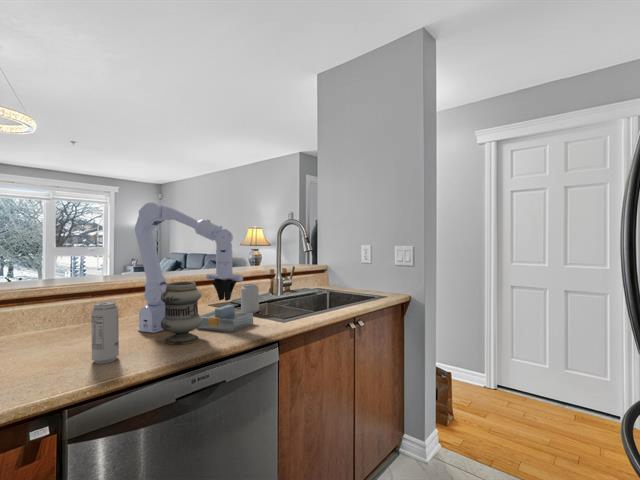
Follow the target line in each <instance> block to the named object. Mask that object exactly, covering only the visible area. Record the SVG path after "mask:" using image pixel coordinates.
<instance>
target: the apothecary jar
mask: <svg viewBox="0 0 640 480" xmlns="http://www.w3.org/2000/svg"><path fill="white" fill-rule="evenodd" d="M201 298H202V292H201V290H200V289H198V288H197V285H196V282H195V281H189V280H186V281H183V280H182V281H175V282H169V283H167V287H166V290H165V291H164V292H163V293H162V295H161V300H162V301H163V302H165V317H164V318H163V319H162V321H161V327H162V328H163V329H164V330H163V331H165V332H166V333H167V332H168V333H171V334H173V335H171V336H168V337H167V338H165V340H164V343H165V344H167V345H171V346H173V345H174V346H175V345H176V346H177V345H188V344H191V343H195V342H197V341H198V340H199V339H200V338H199V336H198V335H197V334H193V333H191V332H193V331H195V330H197V329H198V327H199V326H200V325H201V324H202V317H201V316H200V315H201V314H199V310H198V309H199V308H198V306H199V305H198V303H199V302H198V301H199V300H200V299H201Z"/></svg>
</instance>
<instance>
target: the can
mask: <svg viewBox="0 0 640 480" xmlns="http://www.w3.org/2000/svg"><path fill="white" fill-rule="evenodd" d="M259 294H260V289H259V286H258V284H257V283H244V284H242V287H240V312H248V313H253V314H256V313H257V312H259V310H260V307H259V305H260V295H259Z"/></svg>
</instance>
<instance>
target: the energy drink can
mask: <svg viewBox="0 0 640 480" xmlns="http://www.w3.org/2000/svg"><path fill="white" fill-rule="evenodd" d="M116 304H117V303H116V302H115V301H102V302H96V303H94V304H93V308H92V309H91V312H90V313H91V316H90V317H91V322H90V323H91V360H92V361H93V362H94V363H95V364H98V365H102V364H108V363H112V362H114V361H116V360H117V357H118V356H119V355H120V351H119V349H120V348H119V347H120V346H119V344H120V341H119V337H120V336H119V333H120V332H119V331H120V330H119V307H118V305H116Z"/></svg>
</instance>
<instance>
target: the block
mask: <svg viewBox="0 0 640 480" xmlns="http://www.w3.org/2000/svg"><path fill="white" fill-rule="evenodd" d="M214 311H215V317H219V318H223V317H225V316H228V315H231V314H234V313H235V311H236V309H235V304H226V305H222V306H221V307H217V308H215V309H214Z"/></svg>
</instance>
